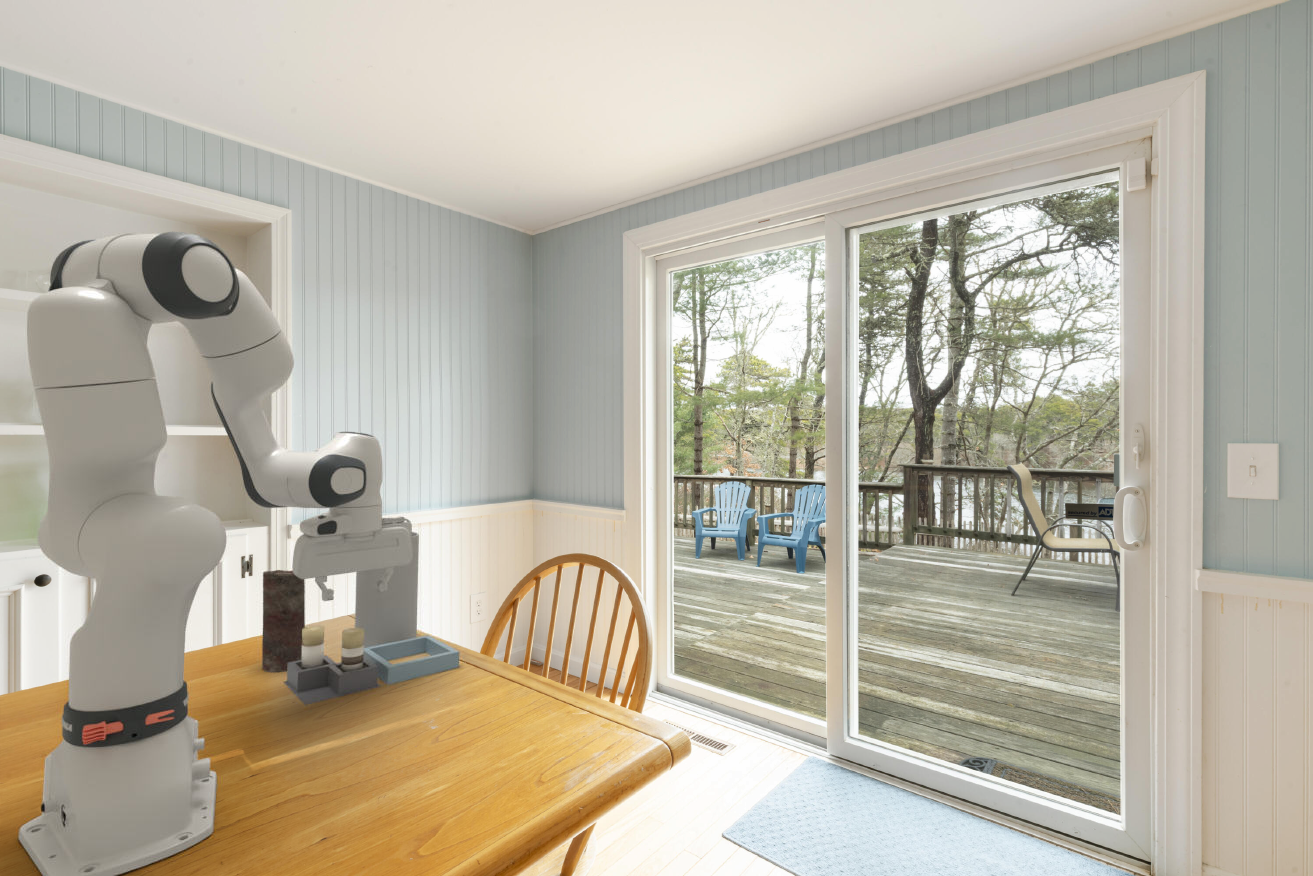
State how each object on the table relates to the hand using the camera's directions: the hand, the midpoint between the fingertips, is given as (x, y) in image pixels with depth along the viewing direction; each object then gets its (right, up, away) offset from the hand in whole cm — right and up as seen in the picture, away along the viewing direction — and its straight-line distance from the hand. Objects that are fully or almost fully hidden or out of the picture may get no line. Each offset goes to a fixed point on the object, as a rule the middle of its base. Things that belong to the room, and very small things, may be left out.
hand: (355, 595), depth 118 cm
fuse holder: (-4, -17, 0) cm, 18 cm away
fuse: (-8, -16, 0) cm, 18 cm away
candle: (-18, -17, +9) cm, 27 cm away
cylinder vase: (-4, -18, +23) cm, 29 cm away
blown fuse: (0, -16, 0) cm, 16 cm away
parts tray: (+6, -18, +10) cm, 21 cm away
